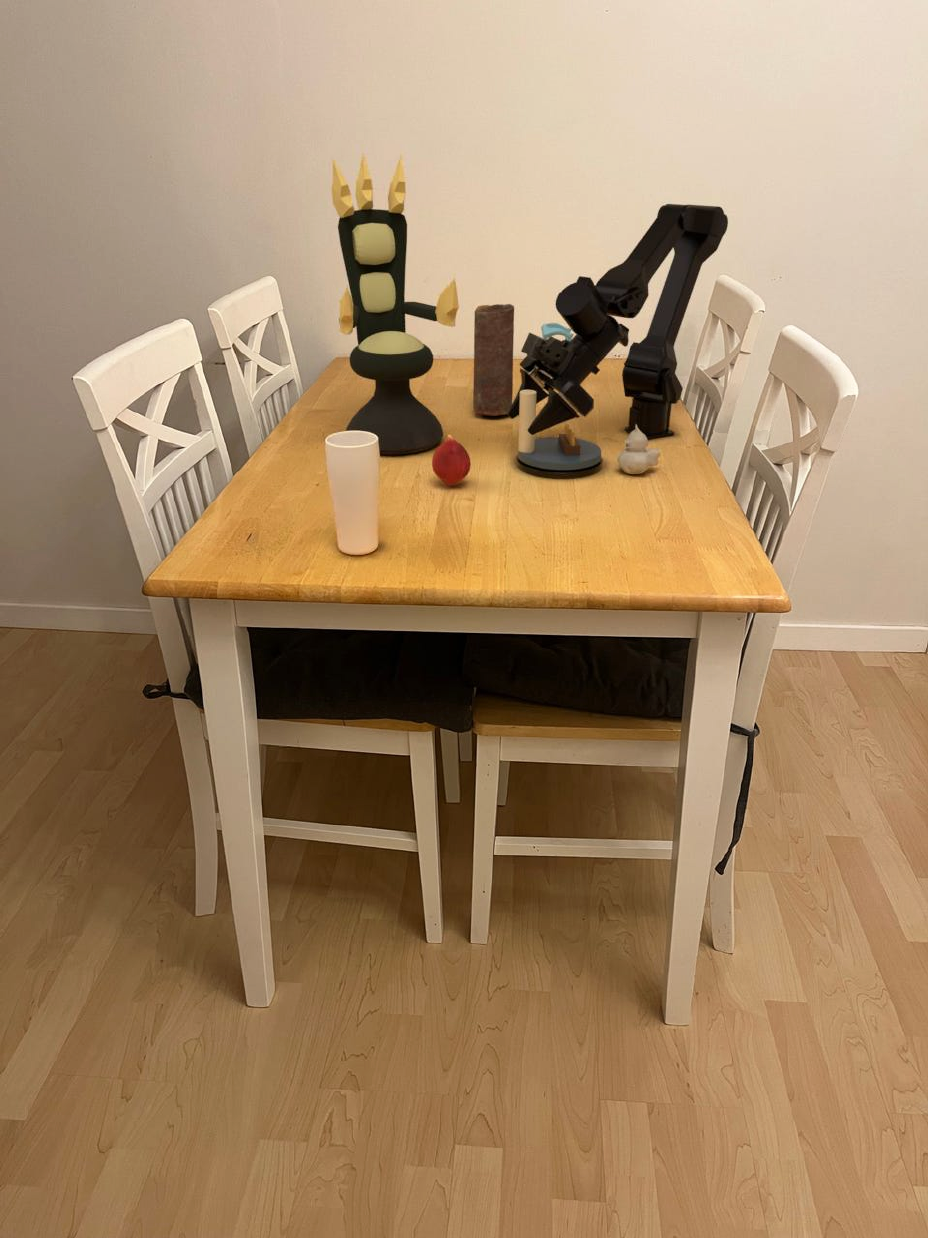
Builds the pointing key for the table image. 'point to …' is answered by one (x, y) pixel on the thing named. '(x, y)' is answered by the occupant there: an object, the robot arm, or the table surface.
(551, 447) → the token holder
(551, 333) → the chair
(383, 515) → the table surface
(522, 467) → the turntable base
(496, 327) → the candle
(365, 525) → the drinking glass
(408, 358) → the black throne
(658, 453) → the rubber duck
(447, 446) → the onion
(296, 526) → the table surface
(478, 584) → the table surface
